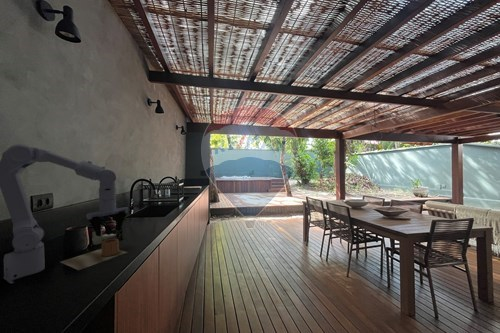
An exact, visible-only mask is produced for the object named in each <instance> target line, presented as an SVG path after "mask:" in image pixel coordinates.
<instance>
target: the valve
mask: <svg viewBox="0 0 500 333" xmlns="http://www.w3.org/2000/svg"><path fill="white" fill-rule="evenodd" d="M91 236H92V238H91V240H92V245H100V244H101V245H102V242H103V241H105V240H108V239H114V238H115V237H116V239H119V241H122V240H124V239H123V237H124V235H123V227H122V226H121V231H117V232H116V233H115V234H114V233H110V234H107V233H104V234H103V230H101V236H96V233H95V230H94V231H93V232H92V234H91Z"/></svg>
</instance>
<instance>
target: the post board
mask: <svg viewBox="0 0 500 333" xmlns="http://www.w3.org/2000/svg"><path fill="white" fill-rule="evenodd" d="M108 243H109V242H108ZM127 253H128V251H125V250H121V249H119V252H118V253H117V254H114V255H111V256H102V248H100V249H96V250H94V251H93V250H92V251H90V252H87V253H84V254H81V255H77V256H75V257H71V258H67V259H64V260H62V261H60V263H61V264H63V265H65V266H68V267H70V268H72V269H75V270H77V271H81V270H83V269H86V268H89V267H91V266H95V265H97V264H100V263H102V262H105V261H109V260H111V259H114V258H116V257H119V256H122V255H124V254H127Z"/></svg>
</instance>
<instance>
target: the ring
mask: <svg viewBox="0 0 500 333" xmlns="http://www.w3.org/2000/svg"><path fill="white" fill-rule="evenodd" d="M102 241H103V242H102V243H101V249H102V256H111V255H114V254H117V253H118V252H119V250H120V239H117V238H109V239H107V240H102ZM108 242H109V243H108Z"/></svg>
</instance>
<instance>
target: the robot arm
mask: <svg viewBox="0 0 500 333" xmlns="http://www.w3.org/2000/svg"><path fill="white" fill-rule="evenodd" d="M0 158H1V159H0V191H1V194H2V197H3V199H4V202H5V204H6V205H5V206H6V209H7V210H8V214H9V216H10V219H11V222H12V224H13V225H12V235H13V238H12V241H11V245H12V247H13V251H12V252H9V253H6V254H4V255H3V256H4V257H3V279H4V280H5V281H6V282H8V283H9V284H15V283H16V281H14V280H17V279H21V278H24V277H26V276H30V275H33V274H37V273H40V272H43V270H45V267H46V265H45V262H46V261H45V243H44V242H42V239H43V237H44V236H45V230H44V229H43V228H42V227H41V226H40V225H39V224H38V222H37V220H36V219H35V218H34V215H33V213H32V209H31V207H30V204H29V201H28V198H27V194H26V192H25V189H24V187H23V184H22V180H21V177H20V174H21V173H22V172H23V171H24V170H25V169H26V168H27V167H29V166H32V165H33V164H35V163H36V162H37V163H52V164H55V165H57V166H61V167H64V168H67V169H71V170H74V172H75V174H76V175H77V176H80V177H83V178H85V179H89V180H92V181H94V182H95V181H98V182H99V188H98V204H99V205H98V206H99V210H97V211H94V212H89V213H86V215H85V216H86V219H87V220H88V222H89V223H90V224H91V226H92V227H93V230H94V231H95V233H96V236H101V231H102V230H101V228H102V221H103V220H102V217H105V216H106V217H107V216H110V215H111V216H112V215H114V221H115V230H116V231H117V232H118V231H121V227H122V226H123V222H124V221H125V218H126V216H127V212H128V207H127V206H123V207H117V188H116V180H117V175H116V173H115V172H114V171H113V170H110V169H106V166H99V165H98V164H97V165H96V164H94V163H93V162H92V161H90V160H87V161H86V160H82V161H80V162H78V161H75V160H72V159H70V158H68V157H65V156H63V155H60V154H57V153H55V152H51V151H49V150H46V149H42V148H38V147H33V146H31V147H30V146H29V145H26V144H21V143H20V144H19V143H18V144H14V145H11V146H10V147H8V148H7V149H6V150H4V151H3V152H2V154H1V157H0Z"/></svg>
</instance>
